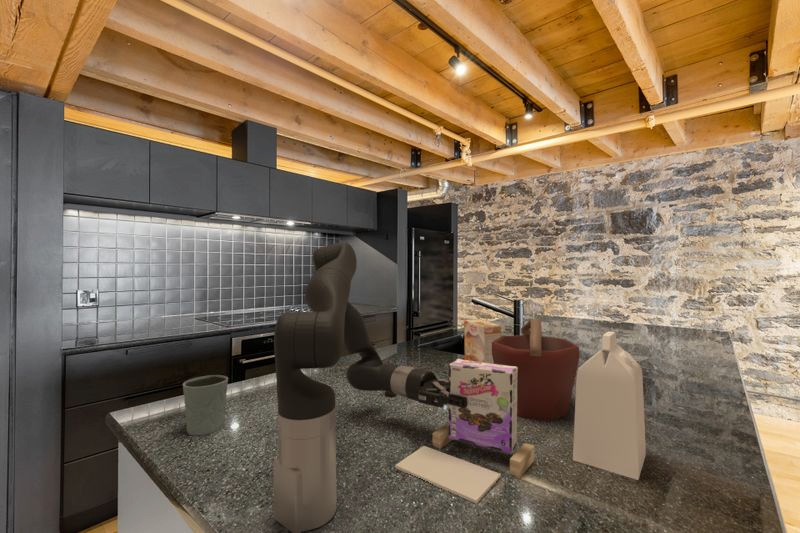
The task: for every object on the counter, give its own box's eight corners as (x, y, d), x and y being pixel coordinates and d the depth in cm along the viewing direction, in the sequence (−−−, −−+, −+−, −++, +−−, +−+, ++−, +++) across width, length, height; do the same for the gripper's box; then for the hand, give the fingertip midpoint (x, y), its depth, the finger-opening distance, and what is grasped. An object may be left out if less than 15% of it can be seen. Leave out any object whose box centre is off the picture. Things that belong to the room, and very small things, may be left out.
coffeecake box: (464, 370, 141) (463, 319, 141) (480, 368, 143) (480, 318, 143) (484, 382, 127) (483, 325, 127) (502, 380, 129) (501, 324, 129)
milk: (586, 438, 86) (586, 327, 86) (645, 454, 78) (645, 332, 78) (572, 460, 76) (571, 335, 76) (638, 480, 69) (637, 342, 69)
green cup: (178, 439, 88) (177, 388, 87) (190, 421, 97) (189, 376, 97) (224, 433, 90) (223, 384, 90) (231, 416, 100) (231, 372, 100)
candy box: (447, 438, 80) (447, 363, 81) (456, 428, 85) (457, 357, 86) (511, 454, 74) (512, 371, 74) (518, 442, 79) (518, 365, 79)
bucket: (508, 388, 120) (507, 312, 120) (583, 401, 109) (583, 316, 109) (484, 415, 99) (483, 323, 99) (574, 434, 88) (574, 329, 88)
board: (476, 504, 63) (476, 500, 63) (395, 468, 74) (395, 465, 74) (500, 477, 71) (500, 474, 71) (423, 448, 82) (423, 445, 82)
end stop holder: (520, 477, 70) (519, 462, 70) (432, 446, 83) (432, 432, 83) (534, 460, 76) (534, 445, 76) (451, 433, 89) (451, 420, 89)
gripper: (394, 374, 85) (457, 389, 75) (429, 362, 96) (489, 373, 86) (394, 407, 85) (457, 426, 75) (429, 390, 96) (489, 405, 86)
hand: (474, 398), depth 80 cm, fingers closed on candy box, 6 cm apart
